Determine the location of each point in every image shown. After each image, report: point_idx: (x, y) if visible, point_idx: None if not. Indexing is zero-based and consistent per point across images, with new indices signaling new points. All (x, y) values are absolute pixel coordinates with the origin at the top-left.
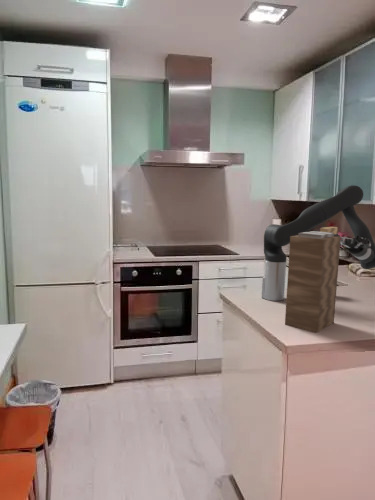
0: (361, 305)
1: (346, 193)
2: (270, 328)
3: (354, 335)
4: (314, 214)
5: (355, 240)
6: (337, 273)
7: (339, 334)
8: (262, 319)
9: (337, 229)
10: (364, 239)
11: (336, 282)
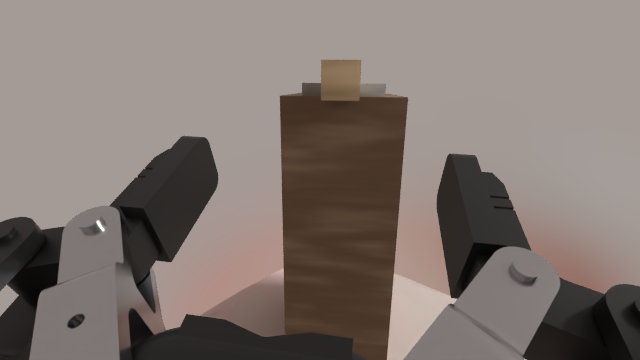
0: None
1: None
2: None
3: (228, 315)
4: None
5: (181, 332)
6: (283, 224)
7: (259, 305)
8: (430, 297)
9: (321, 73)
10: (60, 231)
11: (284, 251)
